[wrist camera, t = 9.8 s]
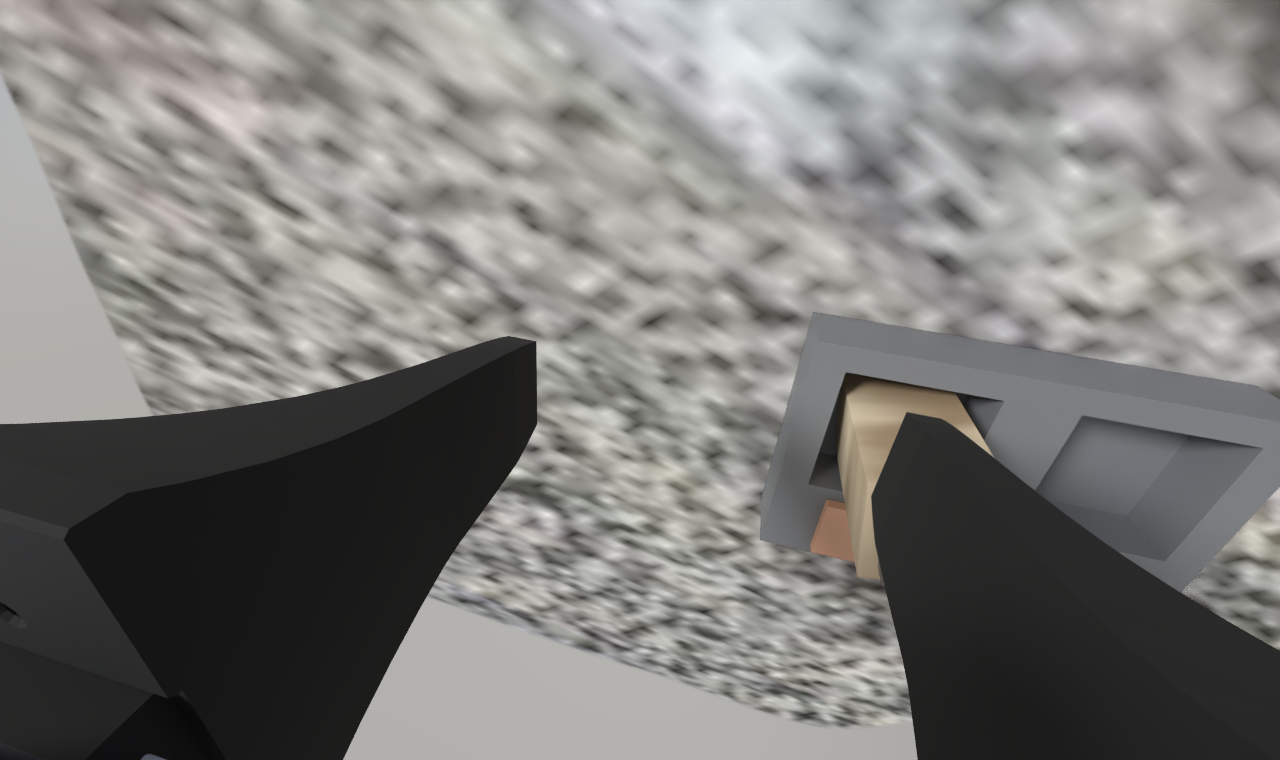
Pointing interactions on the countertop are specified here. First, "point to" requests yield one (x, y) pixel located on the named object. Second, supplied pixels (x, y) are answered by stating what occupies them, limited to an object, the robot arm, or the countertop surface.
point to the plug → (881, 446)
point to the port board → (1043, 441)
